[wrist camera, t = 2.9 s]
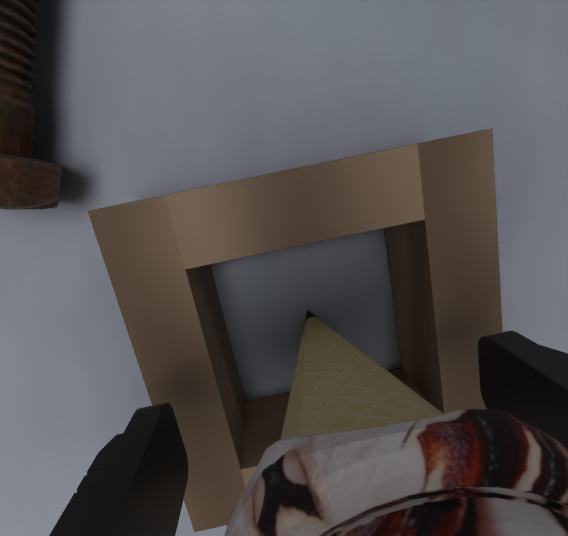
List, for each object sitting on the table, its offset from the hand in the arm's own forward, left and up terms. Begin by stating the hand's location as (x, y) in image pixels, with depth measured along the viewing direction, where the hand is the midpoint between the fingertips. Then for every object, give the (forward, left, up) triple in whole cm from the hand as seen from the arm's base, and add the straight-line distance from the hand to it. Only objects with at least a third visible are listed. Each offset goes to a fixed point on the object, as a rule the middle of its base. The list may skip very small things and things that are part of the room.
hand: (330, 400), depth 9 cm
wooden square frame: (0, 0, -7) cm, 7 cm away
